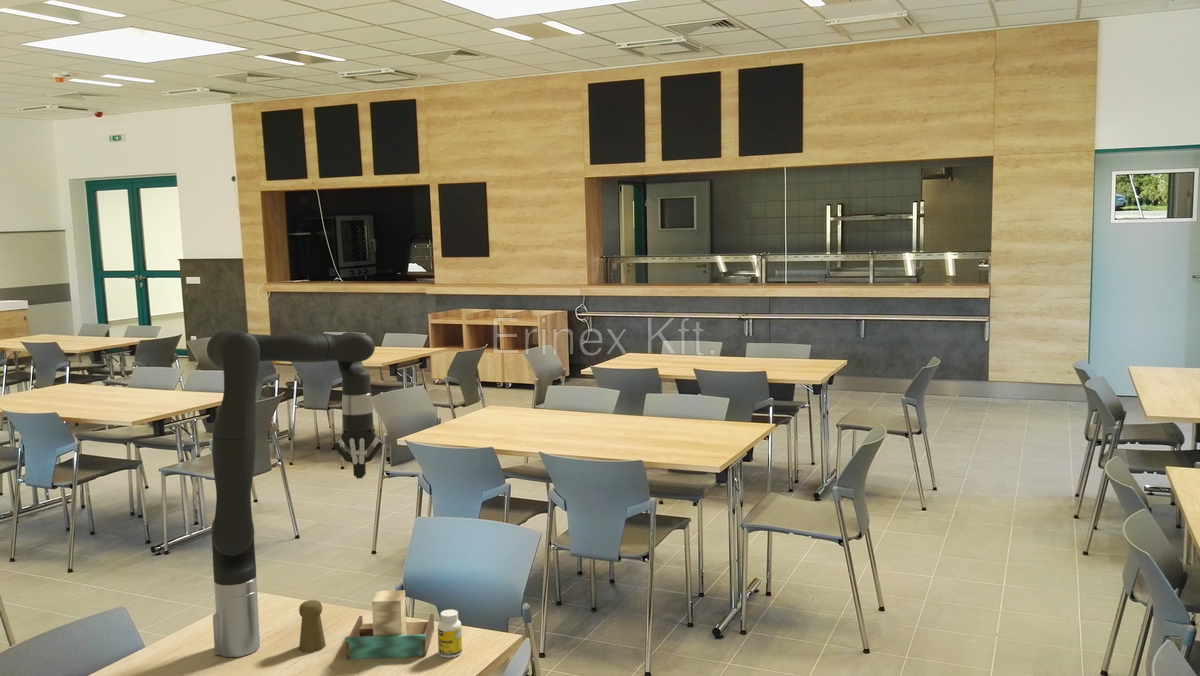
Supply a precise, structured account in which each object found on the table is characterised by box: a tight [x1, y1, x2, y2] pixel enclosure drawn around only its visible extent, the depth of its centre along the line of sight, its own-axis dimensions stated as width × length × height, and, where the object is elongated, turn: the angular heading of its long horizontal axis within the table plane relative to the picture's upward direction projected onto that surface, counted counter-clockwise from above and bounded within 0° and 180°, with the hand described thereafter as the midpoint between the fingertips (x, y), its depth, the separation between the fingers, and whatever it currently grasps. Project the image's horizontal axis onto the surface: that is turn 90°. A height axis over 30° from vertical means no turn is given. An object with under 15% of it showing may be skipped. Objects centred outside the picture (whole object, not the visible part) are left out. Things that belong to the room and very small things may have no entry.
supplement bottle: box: [437, 609, 463, 659], centre depth 216 cm, size 5×5×10 cm
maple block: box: [371, 589, 407, 636], centre depth 218 cm, size 6×6×11 cm
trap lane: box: [345, 613, 435, 660], centre depth 222 cm, size 18×15×5 cm
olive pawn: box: [298, 599, 327, 653], centre depth 221 cm, size 6×6×11 cm
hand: (360, 477), depth 240 cm, fingers closed
